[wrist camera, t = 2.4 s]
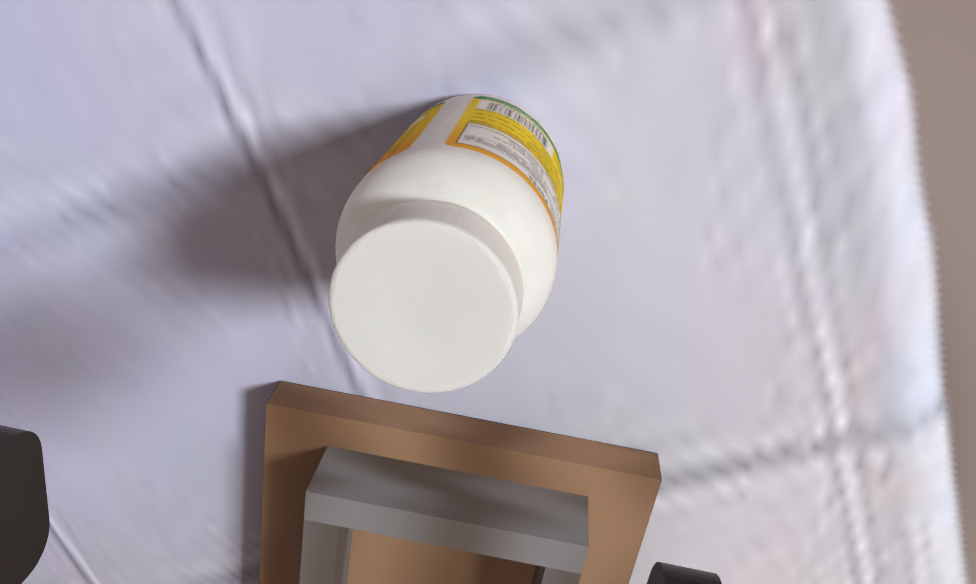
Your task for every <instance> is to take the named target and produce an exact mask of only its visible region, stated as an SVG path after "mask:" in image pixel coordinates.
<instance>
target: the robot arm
mask: <svg viewBox="0 0 976 584" xmlns="http://www.w3.org/2000/svg"><path fill="white" fill-rule="evenodd" d="M49 526H50V525H49V512H48V503H47V493H46V484H45V474H44V465H43V455H42V447H41V442H40V440H39V438H38V436H37V435H36V434H35V433H33V432H30V431H25V430H21V429H16V428H11V427H6V426H1V425H0V584H21V583H22V582H23V581H24V580H25V579H26V578H27V577H28V575H29V574H30V573H31V572H32V570H33V569H34V568H35V566H36V564H37V563H38V561H39V559H40V557H41V555H42V553H43V551H44V548H45V545H46V542H47V539H48V534H49ZM647 584H721V580H720V578H719V576H718V575H717V574H715V573H710V572H705V571H701V570H696V569H691V568H686V567H681V566H676V565H671V564H666V563H661V562H657V563H655V565H654V566H653V568H652V570H651V573H650V576H649V579H648V582H647Z"/></svg>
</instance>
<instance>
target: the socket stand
mask: <svg viewBox="0 0 976 584" xmlns="http://www.w3.org/2000/svg"><path fill="white" fill-rule="evenodd" d="M661 481H662V478H661V472H660V465H659V459H658V454H657V453H652V452H647V451H642V450H637V449H631V448H626V447H621V446H616V445H611V444H605V443H600V442H595V441H590V440H585V439H579V438H574V437H569V436H564V435H559V434H554V433H548V432H543V431H538V430H533V429H528V428H522V427H517V426H512V425H507V424H502V423H496V422H491V421H486V420H481V419H476V418H470V417H465V416H460V415H455V414H450V413H444V412H439V411H434V410H429V409H424V408H418V407H413V406H408V405H403V404H398V403H392V402H387V401H382V400H377V399H372V398H366V397H361V396H356V395H351V394H346V393H341V392H335V391H330V390H325V389H320V388H315V387H309V386H304V385H299V384H294V383H289V382H283V381H281V382H280V383H279V385H278V386H277V388H276V389H275V391H274V392H273V394H272V395H271V397H270V398H269V400H268V401H267V403H266V421H265V446H264V472H263V497H262V523H261V548H260V574H259V584H629V581H630V578H631V574H632V571H633V568H634V565H635V562H636V559H637V556H638V553H639V549H640V546H641V543H642V540H643V537H644V534H645V531H646V528H647V524H648V521H649V518H650V515H651V512H652V509H653V506H654V503H655V499H656V496H657V493H658V490H659V487H660V484H661Z"/></svg>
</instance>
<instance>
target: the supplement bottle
mask: <svg viewBox="0 0 976 584" xmlns="http://www.w3.org/2000/svg"><path fill="white" fill-rule="evenodd" d="M563 192H564V176H563V167H562V162H561V158H560V155H559V152H558V150H557V147H556V145H555V142H554V141H553V139H552V137H551V136H550V134H549V132H548V131H547V130H546V128H545V127H544V126H543V125H542V123H541V122H540V121H539V120H538V119H537V118H536V117H534V116H533V115H532V114H531V113H530V112H528V111H527V110H525V109H524V108H523V107H521V106H519V105H517V104H515V103H513V102H511V101H509V100H507V99H504V98H501V97H497V96H492V95H485V94H468V95H461V96H456V97H452V98H449V99H447V100H444V101H442V102H439V103H437V104H436V105H434V106H432V107H431V108H429V109H428V110H426V111H425V112H424V113H422V114H421V115H420V116H419V117H418V118H417V119H416V120H415V121H414V122H413V123H412V124H411V125H410V127H409V128H408V129H407V130H406V131H405V132H404V133H403V134H402V136H401V137H400V138H399V139H398V140H397V141H396V142H395V143H394V144H393V146H392V147H391V148H390V149H389V150H388V151H387V152H386V153H385V154H384V156H383V157H381V158H380V160H379V161H378V162H377V163H376V164H375V165H374V166H373V167H372V168H371V169H370V170H369V171H368V172H367V174H366V175H365V176H364V178H363V179H362V180H361V181H360V182H359V184H358V185H357V186H356V188H355V189H354V191H353V192H352V194H351V195H350V197H349V198H348V200H347V202H346V204H345V206H344V208H343V211H342V213H341V216H340V220H339V223H338V227H337V233H336V244H335V255H336V266H335V269H334V271H333V273H332V277H331V282H330V289H329V308H330V314H331V319H332V322H333V325H334V328H335V330H336V333H337V335H338V337H339V339H340V341H341V343H342V344H343V345H344V347H345V348H346V350H347V351H348V352H349V354H350V355H351V356H352V357H353V358H354V360H355V361H356V362H357V363H358V364H359V365H360V366H361V367H363V368H364V369H365V370H366V371H368V372H369V373H371V374H372V375H374V376H375V377H377V378H379V379H380V380H382V381H384V382H386V383H389V384H391V385H393V386H396V387H399V388H402V389H406V390H411V391H416V392H426V393H437V392H446V391H451V390H456V389H459V388H462V387H465V386H468V385H470V384H472V383H474V382H476V381H478V380H480V379H481V378H483V377H484V376H485V375H487V374H488V373H490V372H491V371H492V370H493V369H494V368H495V367H496V366H497V365H498V364H499V363H500V362H501V361H502V359H503V358H504V356H505V355H506V353H507V352H508V350H509V348H510V347H511V345H512V343H513V340H514V339H515V338H516V337H517V336H519V335H520V334H521V333H522V332H523V331H524V330H525V329H526V328H527V327H529V325H530V324H531V323H532V322H533V321H534V320H535V318H536V317H537V316H538V314H539V313H540V312H541V310H542V308H543V307H544V305H545V303H546V301H547V299H548V297H549V295H550V292H551V289H552V286H553V283H554V279H555V274H556V267H557V257H558V248H559V237H560V221H561V210H562V200H563Z"/></svg>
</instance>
